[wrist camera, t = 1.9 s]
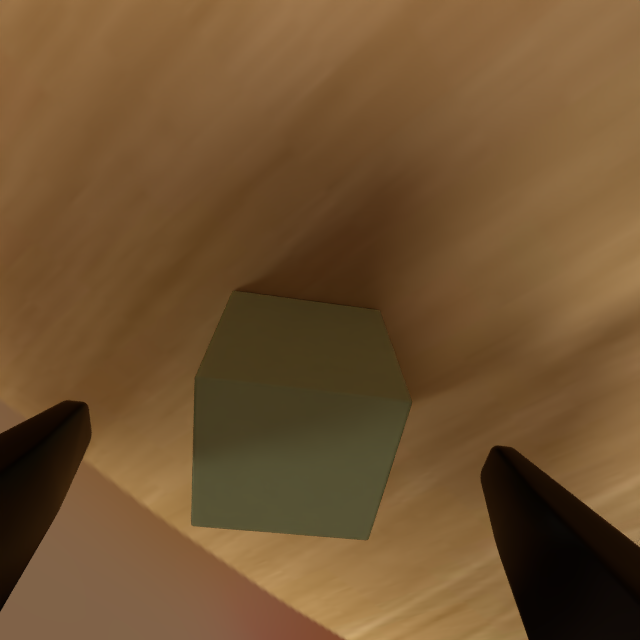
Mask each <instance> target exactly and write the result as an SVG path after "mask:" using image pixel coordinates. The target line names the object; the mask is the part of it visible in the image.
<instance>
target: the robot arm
mask: <svg viewBox="0 0 640 640" xmlns="http://www.w3.org/2000/svg"><path fill="white" fill-rule="evenodd" d="M91 433H92V432H91V423H90V414H89V408H88V405H87V404H86V403H85V402H80V401H71V400H66V401H63V402H61V403H59V404H57V405H55V406H53V407H51V408H49V409H47V410H45V411H43V412H42V413H40V414H38V415H36V416H34V417H32V418H30V419H28V420H26V421H24V422H22V423H20V424H18V425H17V426H14V427H13V428H10V429H9V430H7V431H5V432H3V433H1V434H0V611H1V609H2V608H3V606H4V604H5V603H6V601H7V599H8V597H9V596H10V594H11V592H12V591H13V589H14V587H15V585H16V584H17V582H18V580H19V579H20V577H21V575H22V573H23V572H24V570H25V568H26V567H27V565H28V563H29V561H30V560H31V558H32V556H33V555H34V553H35V551H36V549H37V548H38V546H39V544H40V543H41V541H42V539H43V537H44V536H45V534H46V532H47V531H48V529H49V527H50V525H51V524H52V522H53V520H54V518H55V516H56V515H57V513H58V511H59V509H60V507H61V505H62V503H63V501H64V499H65V496H66V494H67V492H68V490H69V487H70V485H71V483H72V480H73V478H74V476H75V474H76V472H77V470H78V467H79V465H80V463H81V461H82V459H83V456H84V454H85V452H86V450H87V447H88V445H89V443H90V440H91ZM481 484H482V488H483V492H484V497H485V501H486V505H487V509H488V513H489V518H490V522H491V526H492V530H493V534H494V538H495V542H496V545H497V549H498V552H499V555H500V558H501V561H502V564H503V567H504V570H505V573H506V575H507V578H508V581H509V584H510V587H511V590H512V593H513V596H514V599H515V601H516V604H517V607H518V610H519V613H520V616H521V619H522V622H523V625H524V627H525V630H526V633H527V636H528V639H529V640H640V547H639V546H638V545H636V544H635V543H634V542H632V541H631V540H630V539H629V538H627V537H626V536H625V535H624V534H622V533H621V532H620V531H618V530H617V529H616V528H615V527H613V526H612V525H611V524H610V523H608V522H607V521H606V520H604V519H603V518H602V517H601V516H599V515H598V514H597V513H596V512H594V511H593V510H592V509H590V508H589V507H588V506H587V505H585V504H584V503H583V502H581V501H580V500H579V499H578V498H576V497H575V496H574V495H573V494H571V493H570V492H569V491H567V490H566V489H565V488H564V487H562V486H561V485H560V484H559V483H557V482H556V481H555V480H553V479H552V478H551V477H550V476H548V475H547V474H546V473H545V472H543V471H542V470H541V469H539V468H538V467H537V466H536V465H534V464H533V463H532V462H530V461H529V460H528V459H527V458H525V457H524V456H523V455H522V454H520V453H519V452H518V451H516V450H515V449H514V448H512V447H507V446H494V447H493V448H492V449H491V450H490V453H489V455H488V457H487V459H486V461H485V464H484V466H483V468H482V471H481Z"/></svg>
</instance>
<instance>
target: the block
mask: <svg viewBox="0 0 640 640" xmlns="http://www.w3.org/2000/svg"><path fill="white" fill-rule="evenodd" d="M411 405H412V400H411V397H410V394H409V391H408V389H407V386H406V383H405V380H404V377H403V374H402V372H401V369H400V366H399V363H398V360H397V358H396V355H395V352H394V349H393V346H392V343H391V341H390V338H389V335H388V332H387V329H386V327H385V324H384V321H383V318H382V315H381V312H380V311H379V310H374V309H367V308H359V307H352V306H344V305H337V304H329V303H322V302H314V301H307V300H299V299H292V298H284V297H277V296H269V295H262V294H254V293H247V292H239V291H232V293H231V295H230V298H229V300H228V302H227V304H226V307H225V309H224V311H223V314H222V316H221V318H220V321H219V323H218V325H217V328H216V330H215V332H214V334H213V337H212V339H211V341H210V344H209V346H208V348H207V351H206V353H205V355H204V358H203V360H202V362H201V364H200V367H199V369H198V371H197V374H196V376H195V385H194V427H193V469H192V510H191V524H192V526H198V527H211V528H223V529H235V530H247V531H260V532H272V533H284V534H296V535H308V536H321V537H333V538H345V539H357V540H368V539H369V536H370V533H371V530H372V527H373V524H374V521H375V517H376V514H377V511H378V508H379V505H380V502H381V499H382V495H383V492H384V489H385V486H386V483H387V480H388V477H389V473H390V470H391V467H392V464H393V461H394V458H395V455H396V452H397V448H398V445H399V442H400V439H401V436H402V433H403V430H404V426H405V423H406V420H407V417H408V414H409V411H410V408H411Z"/></svg>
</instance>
